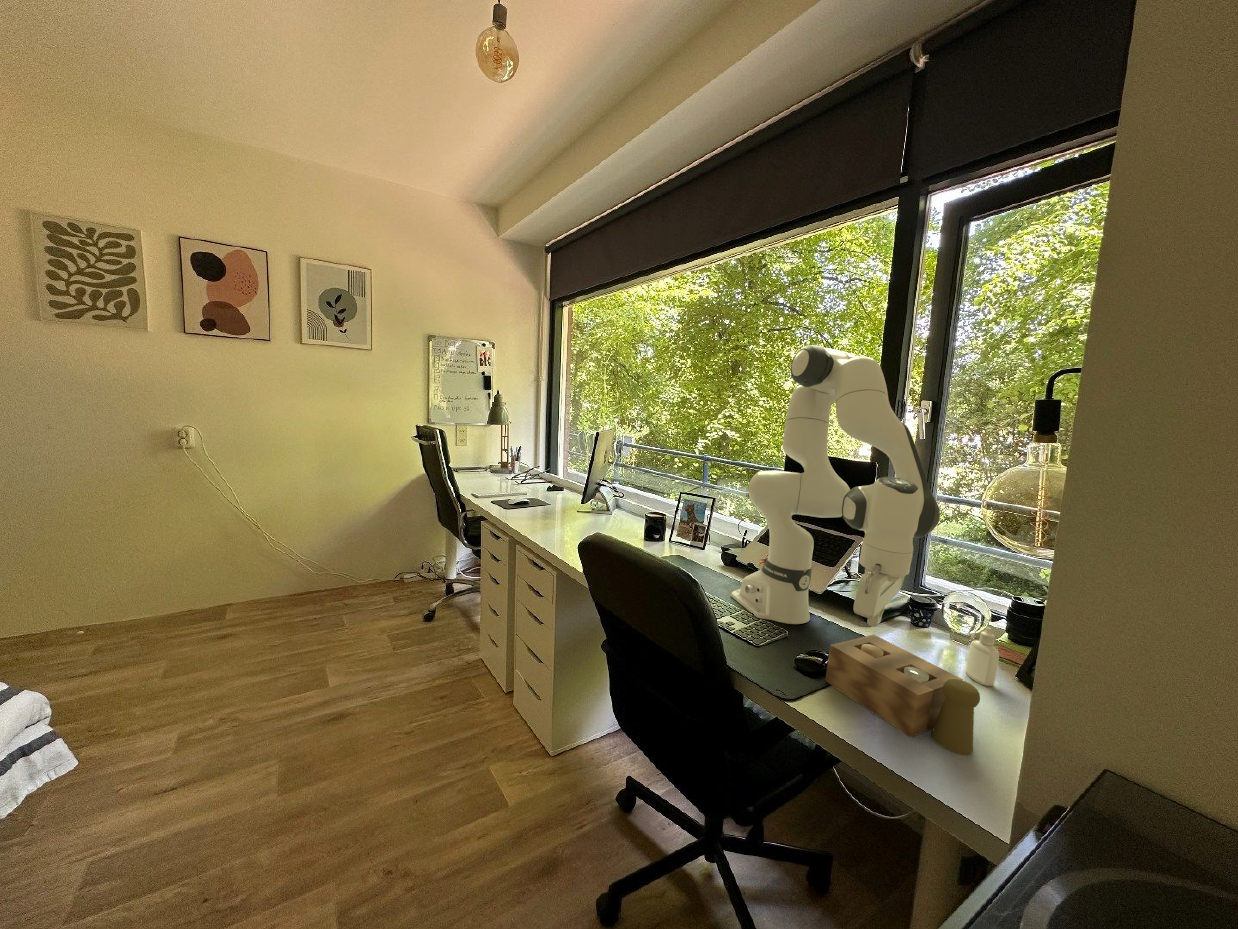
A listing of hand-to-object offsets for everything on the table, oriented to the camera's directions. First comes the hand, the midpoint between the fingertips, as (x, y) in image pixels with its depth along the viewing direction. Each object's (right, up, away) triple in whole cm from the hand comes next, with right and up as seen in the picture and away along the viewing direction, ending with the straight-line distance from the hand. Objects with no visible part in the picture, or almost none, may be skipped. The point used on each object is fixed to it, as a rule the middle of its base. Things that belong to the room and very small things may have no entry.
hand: (873, 623), depth 98 cm
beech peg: (-1, -13, +1) cm, 13 cm away
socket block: (+1, -14, -3) cm, 14 cm away
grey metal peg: (+3, -14, -7) cm, 16 cm away
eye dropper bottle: (+27, -15, +8) cm, 32 cm away
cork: (+6, -16, -14) cm, 22 cm away
